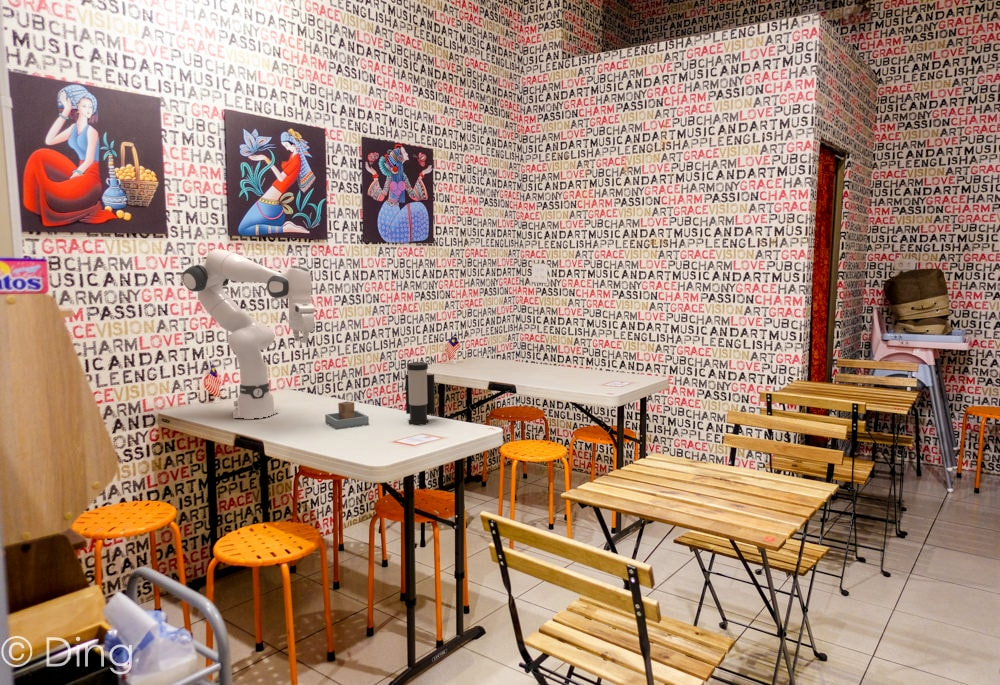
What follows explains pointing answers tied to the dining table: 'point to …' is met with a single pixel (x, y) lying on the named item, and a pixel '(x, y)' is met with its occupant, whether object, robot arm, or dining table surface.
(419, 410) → the light fixture
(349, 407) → the walnut block
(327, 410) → the dining table surface
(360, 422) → the tray
